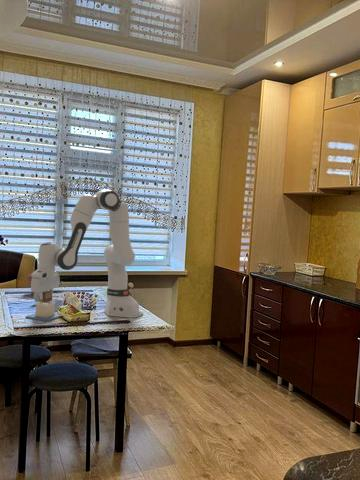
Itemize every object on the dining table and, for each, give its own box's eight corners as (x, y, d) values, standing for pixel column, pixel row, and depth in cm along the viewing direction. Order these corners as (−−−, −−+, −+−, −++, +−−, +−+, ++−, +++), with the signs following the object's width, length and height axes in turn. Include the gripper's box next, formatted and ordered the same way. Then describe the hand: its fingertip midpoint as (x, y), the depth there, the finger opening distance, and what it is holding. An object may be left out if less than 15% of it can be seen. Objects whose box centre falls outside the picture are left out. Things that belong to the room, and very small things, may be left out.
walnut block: (52, 300, 241) (52, 291, 240) (46, 302, 236) (46, 293, 236) (44, 299, 242) (44, 290, 242) (38, 301, 238) (38, 292, 237)
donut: (48, 302, 274) (49, 286, 273) (50, 303, 271) (51, 287, 270) (32, 303, 268) (32, 287, 267) (34, 305, 265) (34, 288, 264)
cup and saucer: (63, 316, 244) (64, 301, 243) (47, 321, 231) (48, 306, 230) (42, 312, 249) (43, 298, 248) (25, 318, 236) (26, 303, 235)
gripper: (53, 269, 249) (52, 294, 250) (29, 274, 230) (28, 300, 231) (63, 271, 247) (62, 295, 248) (39, 275, 227) (38, 302, 228)
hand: (45, 298), depth 239 cm, fingers closed on walnut block, 5 cm apart
